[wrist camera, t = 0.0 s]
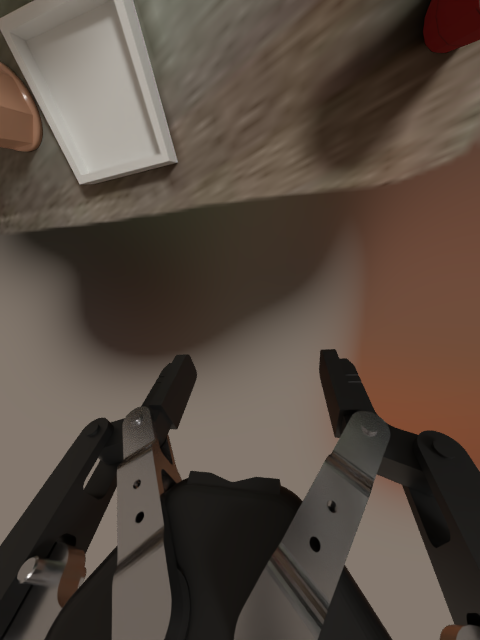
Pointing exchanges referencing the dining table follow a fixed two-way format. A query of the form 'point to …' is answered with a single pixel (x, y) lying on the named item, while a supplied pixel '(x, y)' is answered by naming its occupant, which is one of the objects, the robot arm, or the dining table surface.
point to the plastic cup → (451, 24)
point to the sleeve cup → (18, 114)
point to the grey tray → (92, 84)
